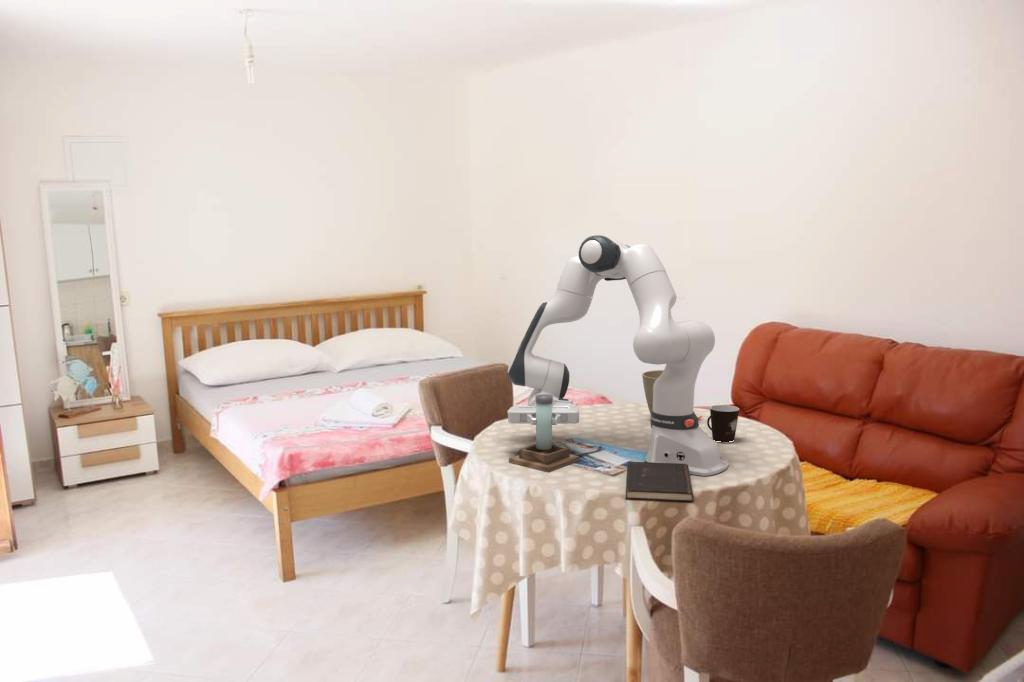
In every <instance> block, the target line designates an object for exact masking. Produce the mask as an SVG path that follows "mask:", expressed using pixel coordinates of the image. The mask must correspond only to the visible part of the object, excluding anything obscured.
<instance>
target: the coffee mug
mask: <svg viewBox="0 0 1024 682" xmlns="http://www.w3.org/2000/svg"><path fill="white" fill-rule="evenodd" d="M709 412H710V416H708V417H707V420H706V425H707V427H708V428H709V430H710V431H711V436H712V437H711V438H712V439H713V440H715V441H721V442H729V441H733V440H734V441H735V438H736V433H737V431H736V430H737V426H738V419H739V413H740V408H739V407H737V406H734V405H729V404H728V405H727V404H717V405H716V404H715V405H710V407H709ZM710 423H711V424H710Z"/></svg>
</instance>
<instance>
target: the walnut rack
mask: <svg viewBox="0 0 1024 682" xmlns="http://www.w3.org/2000/svg"><path fill="white" fill-rule="evenodd" d="M570 450H571V449H570V447H566V446H561V445H557V444H553V443H552V448H551V449H547V450H541V449H537V448H536V443H534V444H531V445H528V446H525V447H521V448H520V449H518V454H517V455H515V456H512V457H509V458H508V463H510V464H514V465H518V466H521V467H525V468H530V469H534V470H537V471H542V472H546V473H550V472H553V471H556V470H560V469H561V468H564V467H566V466H570V465H571V464H575V463H577V462H579V460H580V458H581V457H580V456H579V455H576V454H575V455H574V454H570V453H571V452H570Z"/></svg>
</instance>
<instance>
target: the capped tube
mask: <svg viewBox="0 0 1024 682" xmlns="http://www.w3.org/2000/svg"><path fill="white" fill-rule="evenodd" d="M535 402H536V425H535V444H536V448H537V449H541V450H547V449H551V448H552V444H553V442H552V441H553V425H552V402H553V396H552V395H548V394H540V395H536V396H535Z"/></svg>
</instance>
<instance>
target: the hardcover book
mask: <svg viewBox="0 0 1024 682" xmlns="http://www.w3.org/2000/svg"><path fill="white" fill-rule="evenodd" d="M691 480H692V479H691V474H689V468H688V465H687V464H679V463H654V462H647V461H627V464H626V480H625V500H636V501H639V500H640V501H657V502H658V501H660V502H679V503H691V502H692V501H693V500H694V494H693V487H692V481H691Z"/></svg>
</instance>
